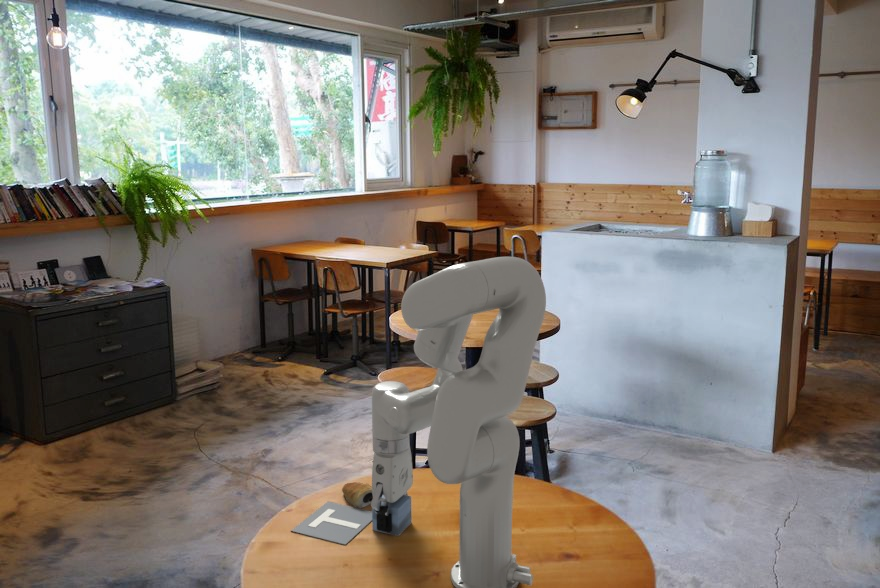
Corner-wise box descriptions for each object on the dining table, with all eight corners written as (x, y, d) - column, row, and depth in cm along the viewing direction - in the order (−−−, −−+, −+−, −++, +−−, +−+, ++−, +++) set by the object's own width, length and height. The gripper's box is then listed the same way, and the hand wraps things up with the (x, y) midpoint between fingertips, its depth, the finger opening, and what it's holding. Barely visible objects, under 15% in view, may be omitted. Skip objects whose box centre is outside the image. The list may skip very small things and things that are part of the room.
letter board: (379, 513, 165) (379, 512, 164) (345, 545, 152) (345, 543, 152) (327, 502, 170) (327, 500, 170) (291, 531, 157) (291, 530, 157)
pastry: (334, 495, 173) (334, 479, 173) (359, 487, 178) (359, 471, 177) (357, 511, 166) (357, 494, 166) (382, 502, 171) (382, 486, 170)
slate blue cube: (411, 522, 161) (411, 496, 160) (398, 536, 156) (397, 509, 154) (386, 517, 163) (385, 491, 162) (372, 530, 158) (372, 503, 157)
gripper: (387, 461, 146) (388, 547, 150) (425, 430, 162) (425, 508, 166) (353, 455, 149) (355, 539, 153) (394, 424, 165) (395, 501, 169)
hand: (392, 522), depth 159 cm, fingers closed on slate blue cube, 6 cm apart
